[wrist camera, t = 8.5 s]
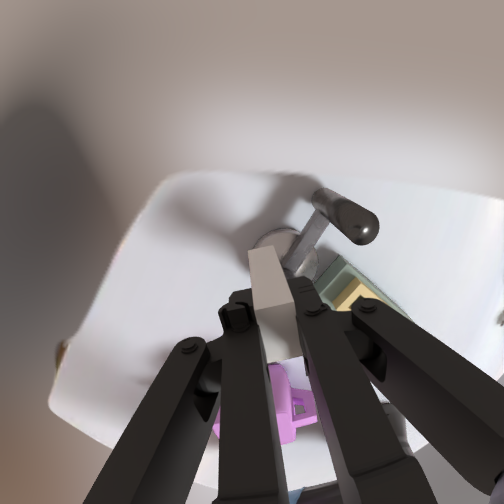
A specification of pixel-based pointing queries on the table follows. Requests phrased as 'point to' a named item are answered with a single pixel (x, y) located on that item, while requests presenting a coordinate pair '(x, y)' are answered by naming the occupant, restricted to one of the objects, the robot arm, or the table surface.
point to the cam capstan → (320, 232)
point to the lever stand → (348, 287)
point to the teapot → (286, 406)
